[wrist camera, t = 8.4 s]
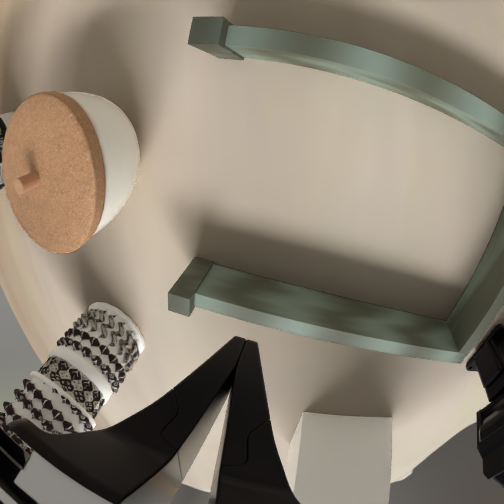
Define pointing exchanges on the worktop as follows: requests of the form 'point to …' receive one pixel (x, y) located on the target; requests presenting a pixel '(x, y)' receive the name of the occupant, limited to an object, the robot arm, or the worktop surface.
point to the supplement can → (3, 120)
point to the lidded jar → (68, 166)
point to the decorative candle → (78, 374)
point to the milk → (340, 459)
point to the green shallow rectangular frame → (326, 305)
